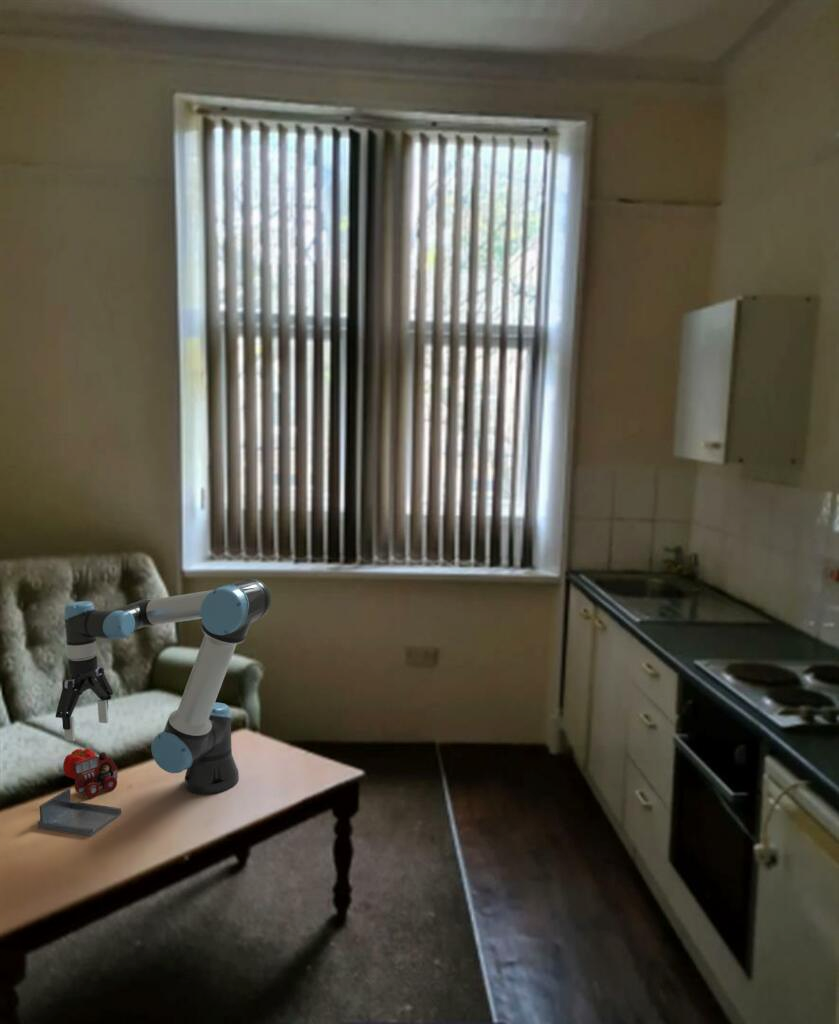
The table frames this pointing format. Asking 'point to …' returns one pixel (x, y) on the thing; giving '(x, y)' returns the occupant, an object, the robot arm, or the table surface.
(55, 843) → the table surface
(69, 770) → the tomato
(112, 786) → the toy fire truck
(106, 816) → the grey l-shaped tray
